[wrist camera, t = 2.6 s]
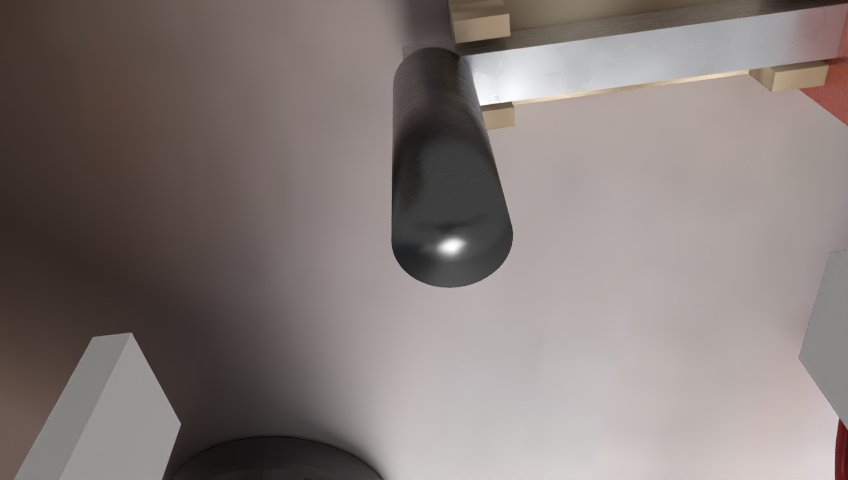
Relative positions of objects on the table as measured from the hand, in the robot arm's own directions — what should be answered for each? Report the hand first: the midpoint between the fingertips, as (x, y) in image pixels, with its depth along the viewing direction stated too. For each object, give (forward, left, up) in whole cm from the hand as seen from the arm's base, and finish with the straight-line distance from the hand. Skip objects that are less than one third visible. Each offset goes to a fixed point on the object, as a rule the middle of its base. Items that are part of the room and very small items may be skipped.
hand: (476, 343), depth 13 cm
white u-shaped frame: (+7, 0, -17) cm, 18 cm away
